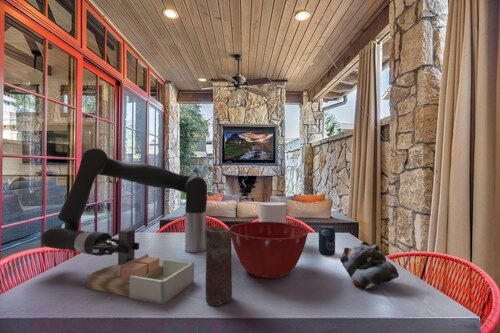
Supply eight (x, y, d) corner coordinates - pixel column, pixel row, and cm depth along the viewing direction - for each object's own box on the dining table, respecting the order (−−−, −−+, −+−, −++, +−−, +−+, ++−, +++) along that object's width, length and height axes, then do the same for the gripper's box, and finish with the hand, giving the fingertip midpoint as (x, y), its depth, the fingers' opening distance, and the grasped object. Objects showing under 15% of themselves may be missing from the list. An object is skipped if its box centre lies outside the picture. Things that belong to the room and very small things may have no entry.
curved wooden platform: (87, 287, 80) (87, 274, 80) (123, 271, 93) (123, 260, 93) (131, 296, 74) (131, 282, 74) (163, 277, 88) (163, 265, 88)
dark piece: (106, 273, 79) (107, 233, 79) (135, 260, 90) (136, 226, 90) (119, 276, 77) (120, 235, 77) (148, 262, 89) (148, 227, 89)
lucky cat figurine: (356, 292, 77) (338, 245, 83) (349, 292, 88) (334, 250, 94) (406, 279, 76) (384, 232, 82) (393, 280, 87) (375, 239, 93)
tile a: (136, 270, 83) (136, 261, 83) (147, 265, 88) (147, 256, 88) (148, 272, 82) (149, 263, 82) (159, 267, 86) (159, 258, 86)
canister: (268, 239, 138) (268, 201, 139) (291, 243, 131) (290, 203, 131) (253, 244, 128) (253, 203, 128) (277, 249, 120) (277, 205, 120)
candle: (206, 293, 76) (206, 225, 77) (231, 292, 77) (231, 224, 77) (204, 307, 69) (204, 231, 69) (232, 306, 69) (232, 230, 70)
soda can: (329, 257, 108) (329, 228, 109) (315, 253, 114) (315, 226, 114) (338, 254, 113) (338, 226, 113) (324, 250, 118) (324, 224, 118)
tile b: (121, 277, 78) (121, 267, 78) (133, 271, 82) (133, 262, 82) (134, 280, 76) (134, 269, 76) (146, 273, 81) (146, 264, 81)
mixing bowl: (265, 253, 114) (265, 218, 114) (324, 271, 93) (324, 228, 94) (212, 270, 94) (213, 227, 94) (273, 298, 74) (273, 243, 74)
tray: (129, 297, 74) (129, 276, 74) (164, 276, 88) (164, 259, 89) (162, 304, 70) (163, 282, 70) (193, 281, 85) (193, 262, 85)
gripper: (73, 236, 82) (116, 242, 77) (110, 227, 96) (149, 231, 90) (73, 260, 82) (115, 267, 76) (110, 248, 95) (149, 253, 90)
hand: (133, 248), depth 83 cm, fingers closed on dark piece, 3 cm apart
